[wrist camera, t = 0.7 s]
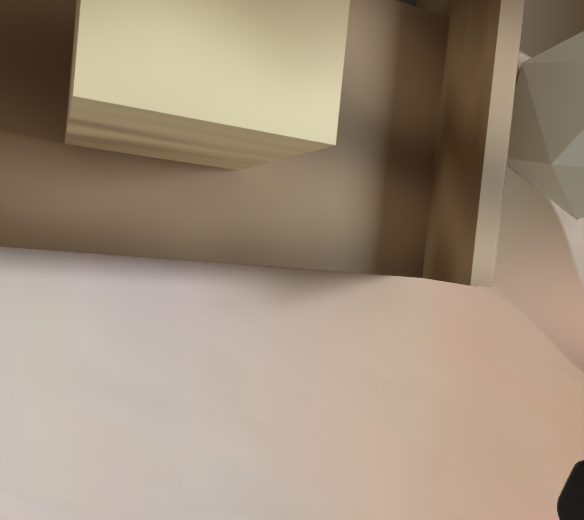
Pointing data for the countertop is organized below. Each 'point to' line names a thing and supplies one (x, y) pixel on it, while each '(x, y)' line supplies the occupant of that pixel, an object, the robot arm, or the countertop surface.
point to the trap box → (289, 171)
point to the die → (551, 124)
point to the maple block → (207, 78)
